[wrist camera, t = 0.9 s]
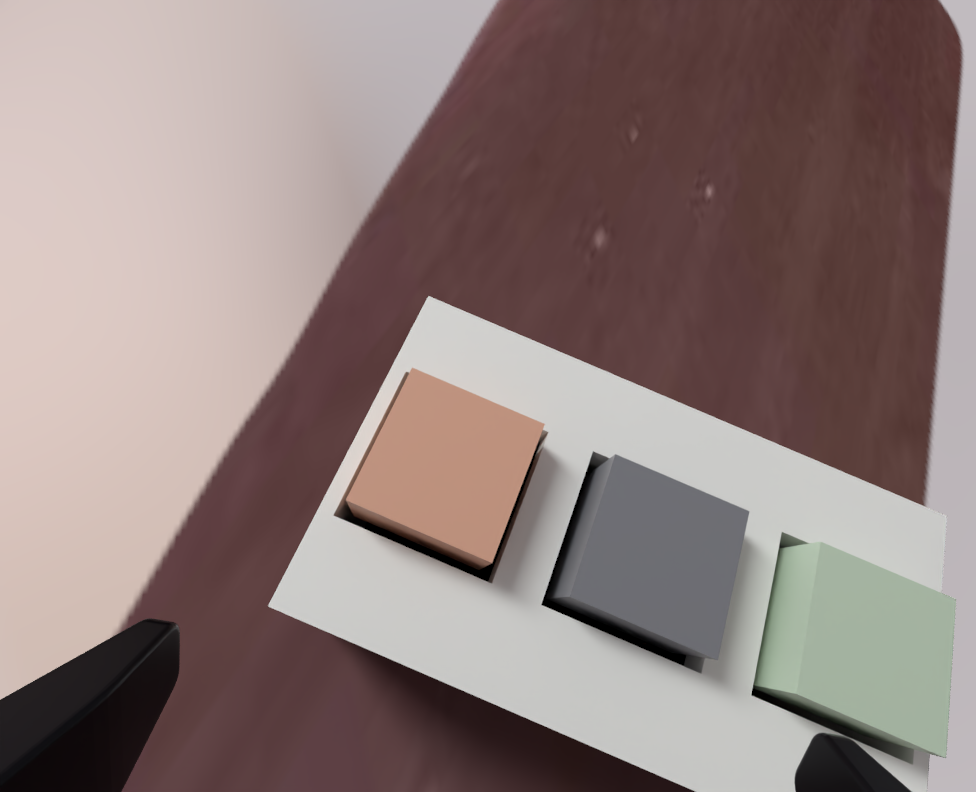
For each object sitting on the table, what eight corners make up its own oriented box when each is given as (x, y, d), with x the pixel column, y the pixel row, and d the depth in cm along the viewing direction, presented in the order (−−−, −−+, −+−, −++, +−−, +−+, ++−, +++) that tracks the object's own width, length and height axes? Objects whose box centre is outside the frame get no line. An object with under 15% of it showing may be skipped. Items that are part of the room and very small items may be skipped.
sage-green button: (865, 736, 15) (946, 758, 13) (738, 681, 15) (796, 693, 13) (880, 601, 16) (956, 598, 14) (764, 550, 16) (821, 541, 14)
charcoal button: (671, 652, 15) (717, 660, 13) (545, 598, 15) (569, 596, 13) (702, 525, 16) (749, 511, 14) (586, 475, 16) (615, 454, 14)
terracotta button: (478, 570, 15) (492, 562, 13) (354, 516, 15) (345, 499, 13) (525, 449, 16) (545, 424, 14) (411, 400, 17) (411, 367, 14)
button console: (746, 795, 19) (919, 888, 13) (312, 608, 20) (267, 606, 13) (792, 543, 23) (947, 516, 16) (421, 385, 23) (428, 296, 16)
